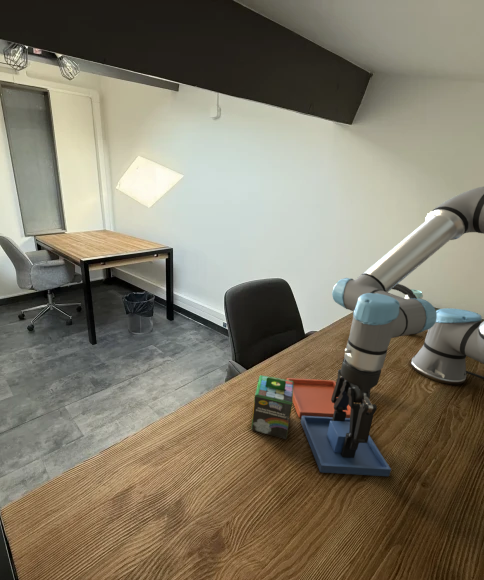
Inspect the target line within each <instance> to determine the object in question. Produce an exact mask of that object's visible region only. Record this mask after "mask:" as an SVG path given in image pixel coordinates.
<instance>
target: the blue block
mask: <svg viewBox="0 0 484 580" xmlns="http://www.w3.org/2000/svg"><path fill="white" fill-rule="evenodd" d="M349 428H350V422H345V421H330V424H329V428H328V432H327V438H328V440H329V442H330V445H331V447H332V449H333V451H334V453H341V452H342V448H343V445H344V441H345V437H346V433H349ZM355 453H356V452H355Z"/></svg>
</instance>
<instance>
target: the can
mask: <svg viewBox="0 0 484 580" xmlns="http://www.w3.org/2000/svg"><path fill="white" fill-rule="evenodd" d="M409 289H410V290H411V291H413V293H414V295H415V296H416V297H417V299H423V297H424V295H423V292H422V291H421V290H419V289H412V288H409ZM403 298H404V299H410V298H409V297H408V295H405V294H404V297H403Z"/></svg>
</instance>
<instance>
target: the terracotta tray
mask: <svg viewBox="0 0 484 580" xmlns="http://www.w3.org/2000/svg"><path fill="white" fill-rule="evenodd" d="M285 380H289V381H293V382H294V385H293V402H292V404H293V407H294V408H295V411H296V413H297V414H296V415H297V416H298V418H299V419H301V417H302V416H318V417H333V414H334V403H332V401H331V398H332V395H333V391H334V388H335V385H336V380H333V379H332V380H331V379H314V378H313V379H312V378H296V377H295V378H292V377H286V378H285ZM336 398H338V397H336ZM347 408H348V409H347V410H343V411H345V412H346V418H350V411H351V407H350V406H349V404H348V406H347Z"/></svg>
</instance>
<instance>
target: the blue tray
mask: <svg viewBox="0 0 484 580" xmlns="http://www.w3.org/2000/svg"><path fill="white" fill-rule="evenodd" d="M332 419H333V417H318V416H302V417H301V418H300V424H301V426H302V429H303V432H304V435H305V437H306V439H307V442H308V444H309V448H310V451H311V453H312V455H313V458H314V460H315V463H316V465H317V468H318V470H319V473H323V474H324V473H325V474H342V475H358V476H373V477H374V476H375V477H390V475H391V472H392V468H391V467H390V465H389V464H388V462H387V460H386V459H385V458H384V456H383V454H382V453H381V451H380V449H379V448H378V446H377V444H376V443H375V441H374V440H373V439H372V437H371V436H370V434H369V437H368V442H367V443H359V445H358V448H357V450H356V453H355V456H354V458H347V457H342V456H341V453H334V451H333V449H332V447H331V445H330V442H329V440H328V438H327V432H328V428H329V424H330V421H332ZM345 422H350V418H345Z"/></svg>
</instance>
